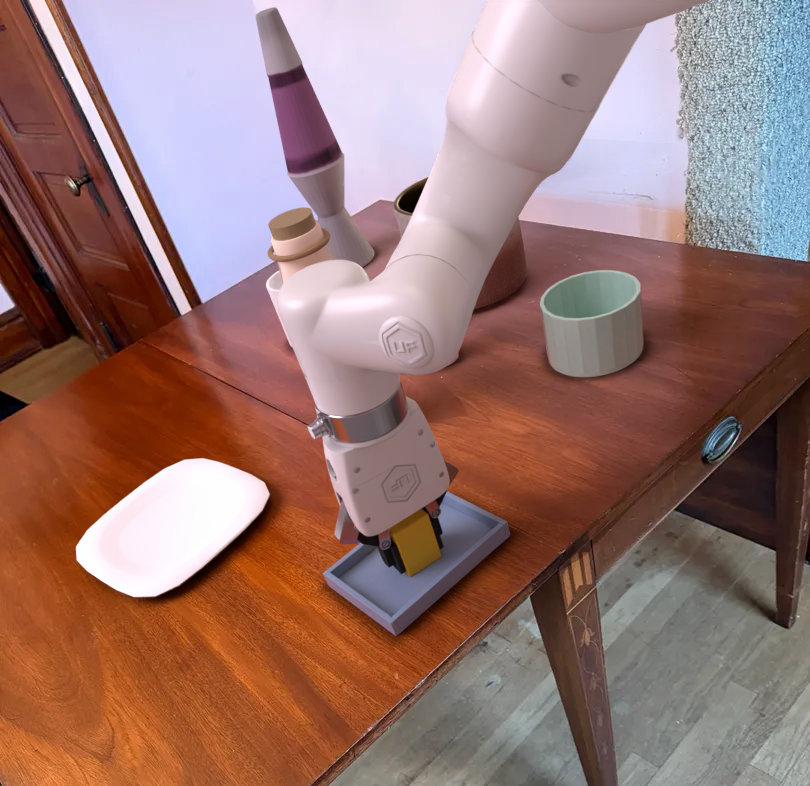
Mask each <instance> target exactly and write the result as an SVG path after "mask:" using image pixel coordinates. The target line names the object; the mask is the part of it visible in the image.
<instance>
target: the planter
mask: <svg viewBox="0 0 810 786" xmlns="http://www.w3.org/2000/svg"><path fill="white" fill-rule="evenodd" d="M428 177H429V175H428V176H426V177H424V178H421V179H419V180H417V181H415V182H414V183H412V184H410V185H409V186H407V187H406V188H404V189H403V190H402V191H401V192H399V194H398V195H397V196H396V198H395V199H394V201H393V204H392V205H393V212H394V216H395V219H396V224H397V227H398V230H399V234H400V239H401V238H402V236H403V234H404V232H405V230H406V228H407V226H408V224H409V221H410V219H411V217H412V215H413V212H414V210H415V208H416V205H417V203H418V201H419V198H420V196H421V194H422V191H423V189H424V187H425V184H426V182H427V180H428ZM527 266H528V265H527V258H526V251H525V244H524V239H523V234H522V227H521V222H520V216H519V217H518V218H517V220H516V222H515V224H514V225H513V227H512V229H511V231H510V233H509V235H508V237H507V238H506V240H505V242H504V244H503V246H502V248H501V249H500V251H499V253H498V255H497V257H496V259H495V261H494V263H493V265H492V267H491V269H490V271H489V273H488V275H487V277H486V279H485V281H484V284H483V286H482V289H481V291H480V294H479V296H478V299H477V302H476V305H475V307H474V310H473V312H476V311H480V310H483V309H486V308H489V307H491V306H493V305H496V304H498V303H500V302H502V301H504V300H506V299H507V298H509V297H510V296H511V295H513V294H514V293H516V292H517V290H518V289H519V288H520V287H521V286H522V285H523V283H524V282H525V281H526V278H527V275H528V267H527Z"/></svg>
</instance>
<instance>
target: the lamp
mask: <svg viewBox="0 0 810 786" xmlns="http://www.w3.org/2000/svg"><path fill="white" fill-rule="evenodd" d="M255 22H256V27H257V31H258V37H259V43H260V47H261V53H262V56H263V62H264V68H265V73H266V77H267V78H268V82H269V88H270V92H271V98H272V102H273V107H274V112H275V117H276V122H277V127H278V131H279V137H280V142H281V147H282V150H283V151H282V152H283V156H284V162H285V165H286V166H285V167H286V171H287V176H288V178H289V179H290V181H291V182H292V183H293V185H294V186H295V187H296V189H297V190H298V192H299V193H300V194H301V196H302V197H303V199H304V200H305V201H306V202H307V204H308V206H309V208H310V209H311V210H312V212H314V213H315V215H316V216H317V221H318V223H319V225H320V227H321V228H324V229H326V230H327V231H328V232H329V234H330V240H329V242H328V244H327V246H328V248H329V251H330V254H331V257H332V260H348V261H351V262H355V263H356V264H358V265H359V266H361V267H362V268H364V267H365V266H367V265H368V264H370V263H371V261H372V260H373V259H374V257H375V253H376V252H375V250H374V248H373V247H372V246H371V244H370V243H369V241H368V240H367V239H366V237H365V235H364V234H363V232H362V231H361V229H360V228H359V226H358V225H357V223H356V222H355V220H354V219H353V217H352V216H351V214H350V213H349V211H348V210H347V208H346V207H345V153H343V151H342V149H341V146H340V145H339V144H340V143H339V142H338V140H337V137H336V136H335V134H334V131H333V128H332V127H331V124H330V122H329V120H328V118H327V115H326V114H325V111H324V110H323V109H324V108H323V106H322V105H321V103H320V101H319V98H318V96H317V94H316V91H315V90H314V87H313V85H312V82H311V81H310V78H309V76H308V73H307V72H306V70H305V67H304V65H303V61H302V59H301V57H300V54H299V52H298V50H297V48H296V46H295V43H294V42H293V39H292V37H291V35H290V33H289V31H288V28H287V26H286V23H285V21H284V20H283V17H282V15H281V14H280V10H279V9H278V8H277V7H275V6H274V7H269V8H266V9H263V10H261V11H259V12H257V13H256V14H255ZM324 237H325V236H324Z"/></svg>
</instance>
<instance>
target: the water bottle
mask: <svg viewBox="0 0 810 786" xmlns="http://www.w3.org/2000/svg"><path fill="white" fill-rule="evenodd" d="M267 226H268V228H269V231H270V234H271V235H270V242H271V246H269V248H268V250H267V257H268V258H269V259H270V260H271V261H274V262H276V263H277V266H278V271H280V274H281V278H282V282H283V284H284V282H285V281H286V280H287V279H288V278H289V277H291V276H292V275H293V274H295V273H296V272H298V271H300V270H302V269H304V268H306V267H308V266H311V265H313V264H316V263H320V262H324V261H329V260H332V257H331V254H330V251H329V248H328V246H327V244H328V242H329V240H330V234H329V232H328V231H327V230H326V229H324V228H321V227H320V225H319V223H318V219H315V217H314V214H313V209H312V208H311V207H296V208H292V209H289V210H287V211H284V212H282V213H279V214H278V215H275V217H273V218H272V219H271V220H270V221H269V222H268V224H267ZM324 236H325V237H324Z"/></svg>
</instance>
